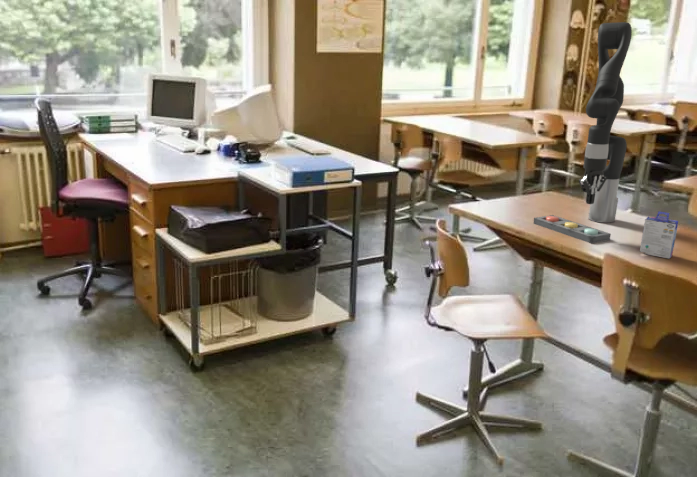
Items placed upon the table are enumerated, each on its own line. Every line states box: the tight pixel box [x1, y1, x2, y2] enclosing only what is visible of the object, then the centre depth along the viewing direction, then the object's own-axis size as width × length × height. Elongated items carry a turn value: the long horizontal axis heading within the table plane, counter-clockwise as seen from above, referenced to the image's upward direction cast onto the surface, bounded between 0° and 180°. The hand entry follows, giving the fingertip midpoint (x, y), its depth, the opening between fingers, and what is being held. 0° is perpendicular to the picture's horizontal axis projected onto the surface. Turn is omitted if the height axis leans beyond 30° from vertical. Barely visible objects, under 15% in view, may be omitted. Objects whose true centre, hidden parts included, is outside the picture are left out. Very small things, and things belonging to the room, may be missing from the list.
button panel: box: [533, 214, 612, 244], centre depth 252 cm, size 27×10×3 cm, turn 32°
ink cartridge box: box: [639, 211, 679, 259], centre depth 230 cm, size 10×6×14 cm, turn 58°
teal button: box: [584, 228, 599, 235], centre depth 245 cm, size 5×5×2 cm
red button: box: [546, 215, 559, 222], centre depth 259 cm, size 5×5×2 cm
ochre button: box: [565, 221, 578, 229], centre depth 252 cm, size 5×5×2 cm
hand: (589, 203), depth 246 cm, fingers closed
